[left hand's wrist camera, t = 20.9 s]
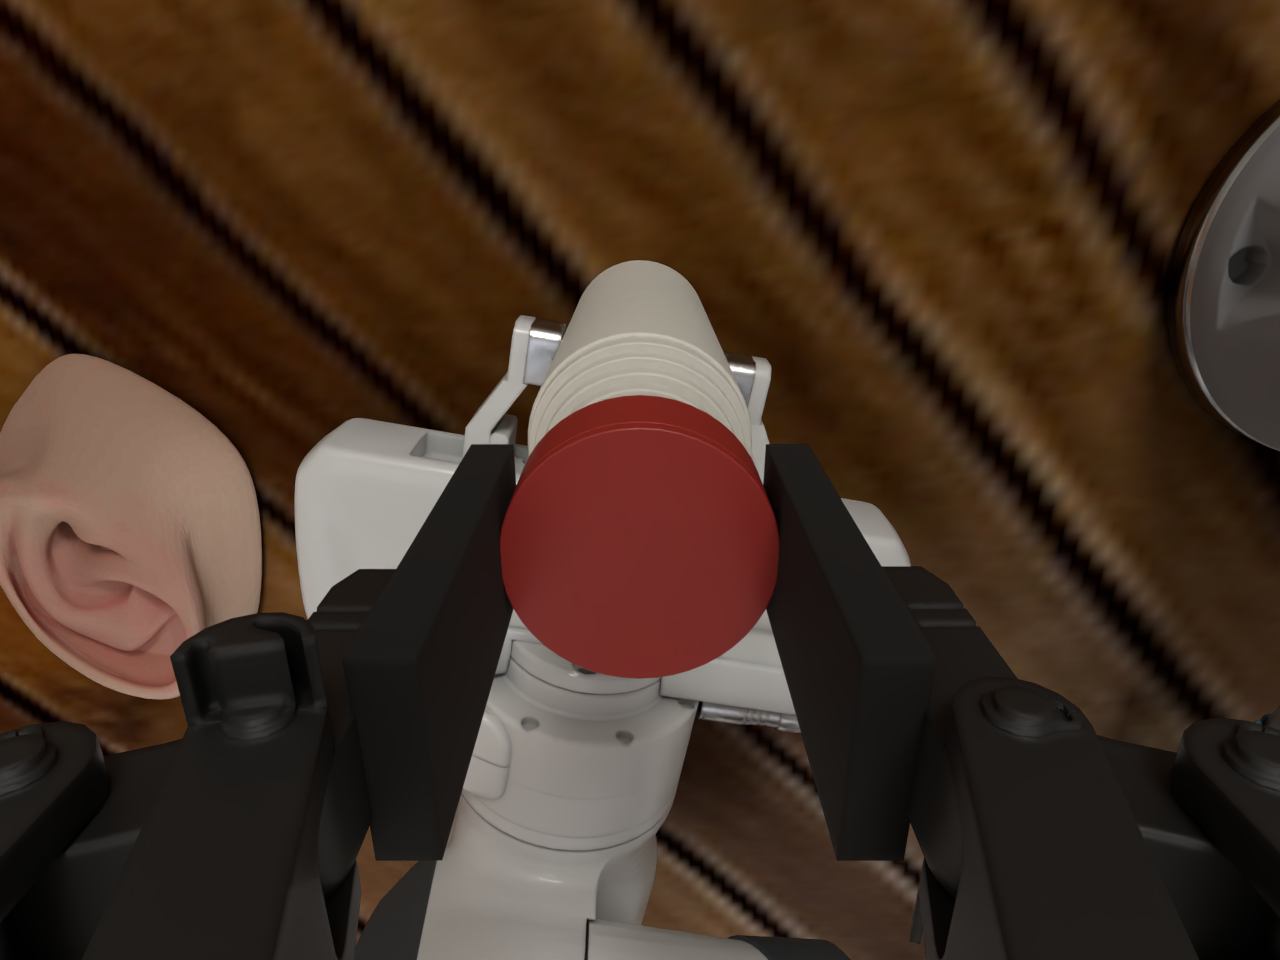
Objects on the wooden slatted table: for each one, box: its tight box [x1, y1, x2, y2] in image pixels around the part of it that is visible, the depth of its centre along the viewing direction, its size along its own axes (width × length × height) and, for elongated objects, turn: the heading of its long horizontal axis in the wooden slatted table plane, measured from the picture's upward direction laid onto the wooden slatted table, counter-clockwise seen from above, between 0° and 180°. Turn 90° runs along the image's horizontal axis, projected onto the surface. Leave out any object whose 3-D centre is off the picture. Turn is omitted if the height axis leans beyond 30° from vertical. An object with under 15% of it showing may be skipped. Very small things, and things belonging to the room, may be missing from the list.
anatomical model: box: [0, 354, 262, 699], centre depth 32 cm, size 13×4×12 cm
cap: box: [500, 395, 780, 679], centre depth 13 cm, size 5×5×2 cm
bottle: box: [528, 260, 752, 456], centre depth 22 cm, size 5×5×19 cm
